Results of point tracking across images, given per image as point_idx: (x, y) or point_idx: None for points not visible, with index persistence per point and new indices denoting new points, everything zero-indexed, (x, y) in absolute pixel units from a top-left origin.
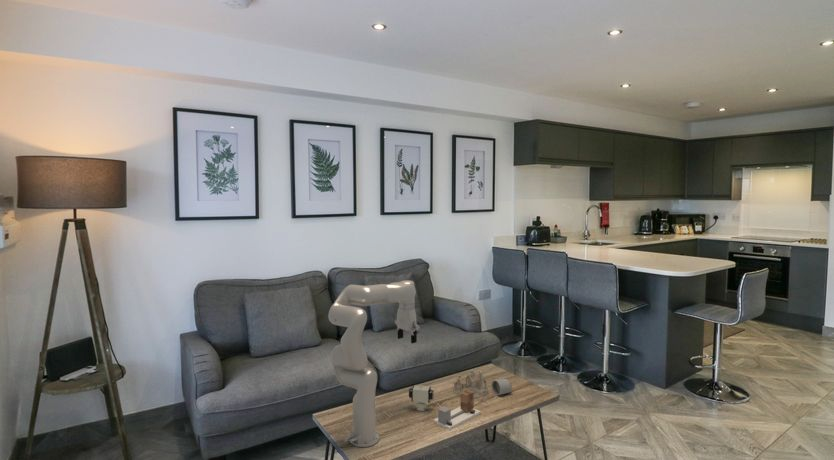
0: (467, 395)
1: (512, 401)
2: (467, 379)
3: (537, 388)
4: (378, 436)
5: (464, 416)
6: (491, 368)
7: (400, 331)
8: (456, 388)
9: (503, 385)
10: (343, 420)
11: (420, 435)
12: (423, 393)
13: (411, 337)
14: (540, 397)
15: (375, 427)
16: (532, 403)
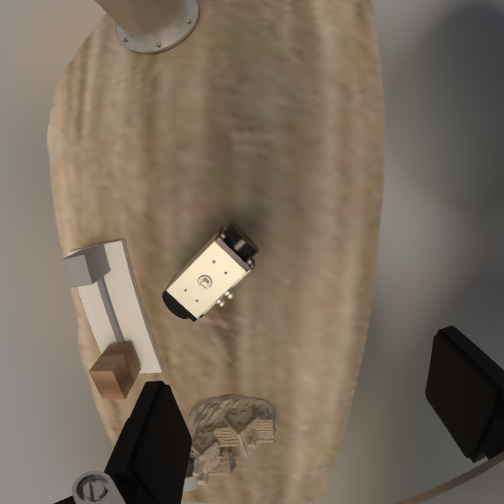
0: (90, 372)
1: None
2: (207, 444)
3: None
4: (131, 47)
5: (100, 325)
6: (309, 499)
7: (480, 419)
8: (251, 409)
9: None
10: (297, 12)
11: (84, 163)
12: (182, 271)
13: (125, 439)
14: None
15: (128, 30)
16: None
